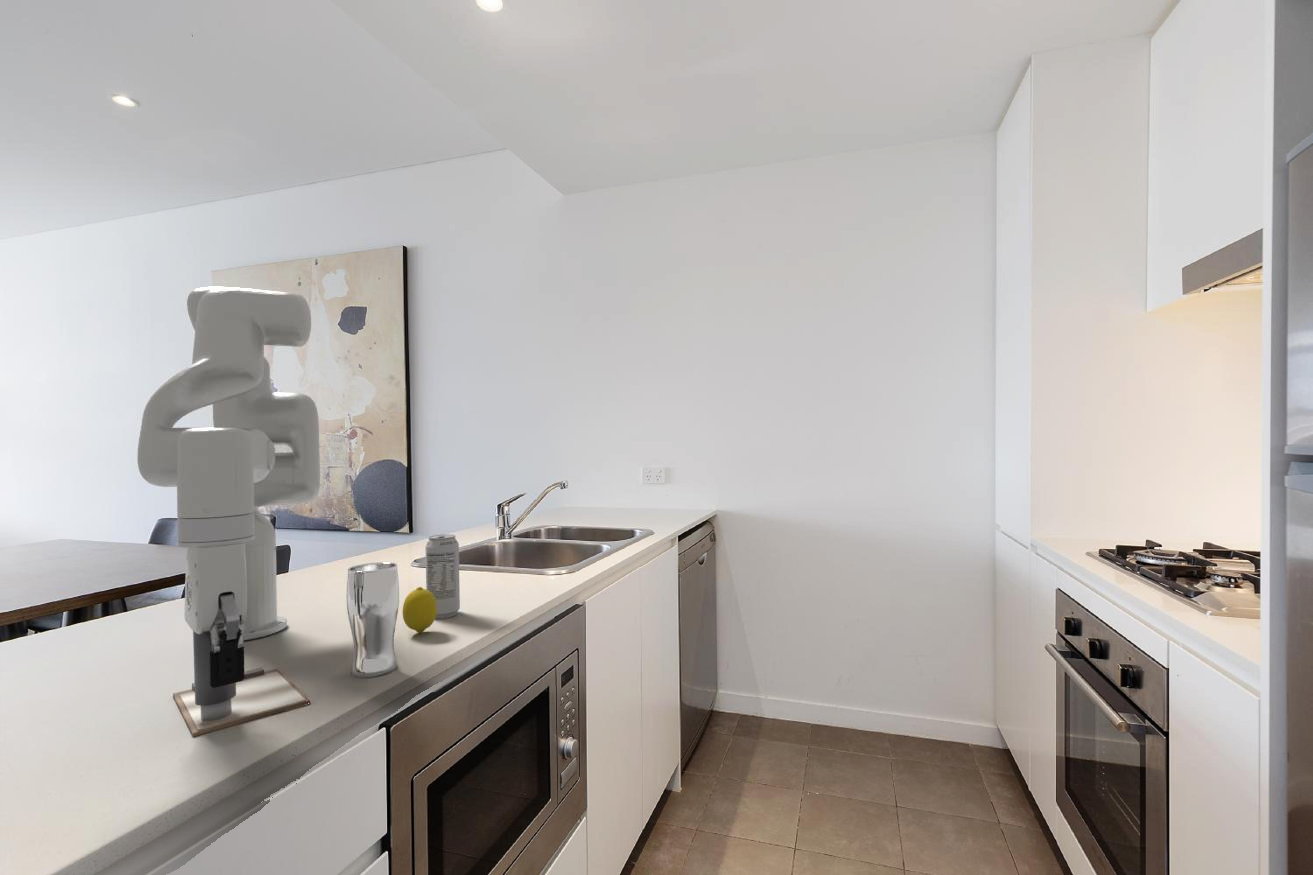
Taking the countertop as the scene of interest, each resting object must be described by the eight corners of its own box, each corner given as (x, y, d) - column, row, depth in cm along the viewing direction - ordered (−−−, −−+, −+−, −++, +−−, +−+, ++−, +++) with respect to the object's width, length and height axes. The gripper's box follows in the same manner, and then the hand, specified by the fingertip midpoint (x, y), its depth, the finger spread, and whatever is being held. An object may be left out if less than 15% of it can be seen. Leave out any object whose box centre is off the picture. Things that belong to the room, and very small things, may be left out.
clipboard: (172, 696, 81) (172, 687, 81) (277, 671, 89) (277, 662, 89) (192, 736, 69) (192, 725, 69) (310, 703, 78) (310, 693, 78)
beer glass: (366, 682, 84) (364, 573, 84) (337, 673, 88) (335, 568, 88) (410, 666, 90) (408, 564, 90) (381, 658, 94) (380, 560, 94)
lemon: (442, 628, 108) (441, 583, 109) (427, 638, 103) (427, 590, 103) (412, 628, 109) (412, 583, 109) (396, 638, 104) (395, 590, 104)
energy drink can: (463, 610, 120) (462, 533, 120) (454, 618, 114) (452, 538, 114) (433, 610, 120) (431, 534, 120) (421, 619, 114) (420, 539, 114)
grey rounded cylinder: (192, 715, 73) (189, 615, 74) (233, 704, 76) (230, 608, 76) (198, 726, 71) (195, 621, 71) (240, 714, 73) (237, 613, 74)
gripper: (167, 527, 77) (169, 663, 77) (189, 541, 65) (191, 703, 65) (238, 521, 82) (240, 648, 82) (271, 533, 70) (273, 683, 70)
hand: (219, 672), depth 74 cm, fingers open, 9 cm apart
